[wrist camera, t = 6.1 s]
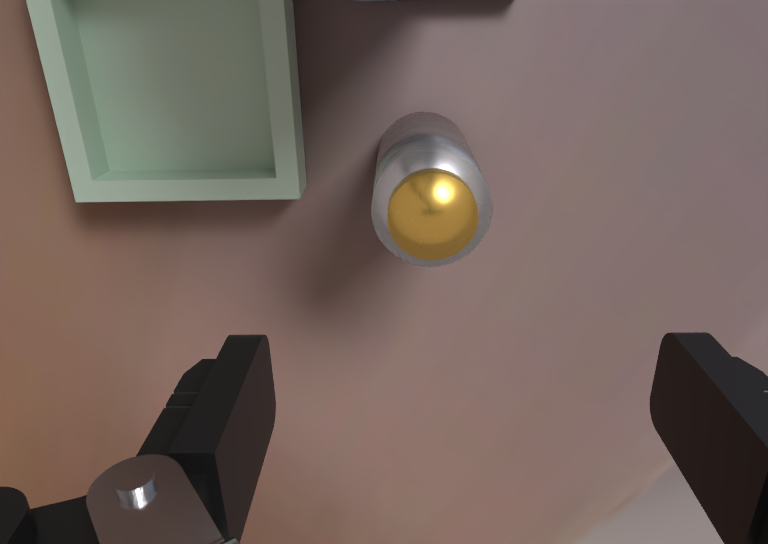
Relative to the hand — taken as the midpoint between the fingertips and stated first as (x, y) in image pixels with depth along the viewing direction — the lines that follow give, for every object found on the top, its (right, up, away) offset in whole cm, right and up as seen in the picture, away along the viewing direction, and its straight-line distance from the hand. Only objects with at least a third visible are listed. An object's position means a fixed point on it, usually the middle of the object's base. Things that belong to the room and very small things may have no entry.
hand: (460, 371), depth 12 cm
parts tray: (-11, +11, +15) cm, 22 cm away
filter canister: (0, +8, +17) cm, 18 cm away
